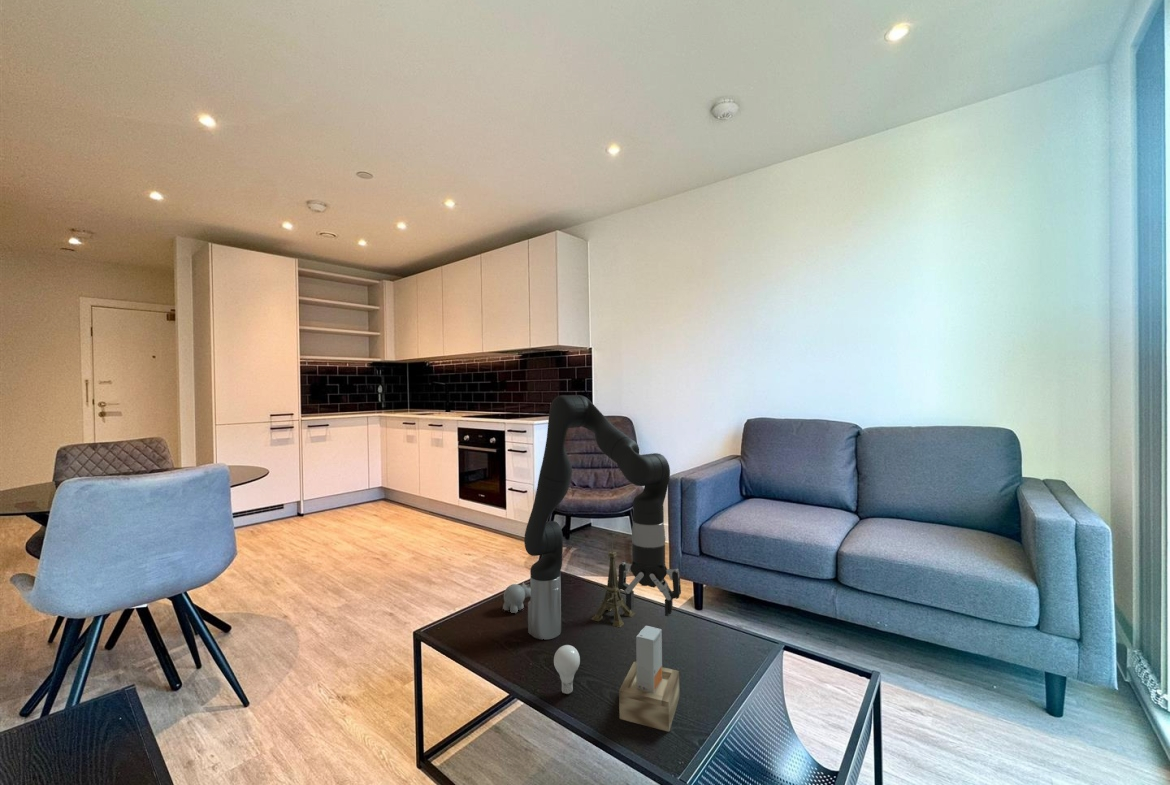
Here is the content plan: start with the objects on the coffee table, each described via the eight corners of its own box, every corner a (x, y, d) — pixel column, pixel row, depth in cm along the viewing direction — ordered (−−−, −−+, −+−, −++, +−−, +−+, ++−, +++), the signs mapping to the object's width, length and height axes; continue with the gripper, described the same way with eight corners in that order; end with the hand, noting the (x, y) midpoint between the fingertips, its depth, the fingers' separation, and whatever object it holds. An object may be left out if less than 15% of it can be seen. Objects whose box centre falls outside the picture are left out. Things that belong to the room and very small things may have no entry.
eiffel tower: (591, 619, 146) (590, 541, 146) (607, 606, 155) (606, 533, 155) (620, 627, 140) (619, 546, 141) (634, 614, 149) (633, 538, 150)
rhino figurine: (539, 604, 157) (539, 579, 157) (513, 617, 148) (513, 591, 148) (525, 599, 162) (525, 575, 162) (499, 611, 152) (498, 585, 152)
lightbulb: (553, 685, 112) (553, 640, 112) (579, 683, 112) (578, 639, 112) (554, 702, 105) (553, 654, 106) (581, 700, 106) (580, 653, 106)
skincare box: (653, 695, 100) (653, 640, 100) (636, 690, 102) (635, 636, 102) (663, 680, 105) (662, 628, 105) (645, 675, 107) (645, 624, 107)
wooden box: (619, 718, 100) (619, 690, 100) (634, 686, 111) (634, 661, 111) (669, 731, 95) (668, 702, 96) (679, 697, 106) (678, 670, 107)
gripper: (614, 542, 103) (614, 613, 103) (676, 549, 98) (677, 624, 97) (623, 533, 110) (624, 600, 110) (682, 539, 105) (683, 609, 104)
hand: (649, 611), depth 104 cm, fingers open, 8 cm apart
